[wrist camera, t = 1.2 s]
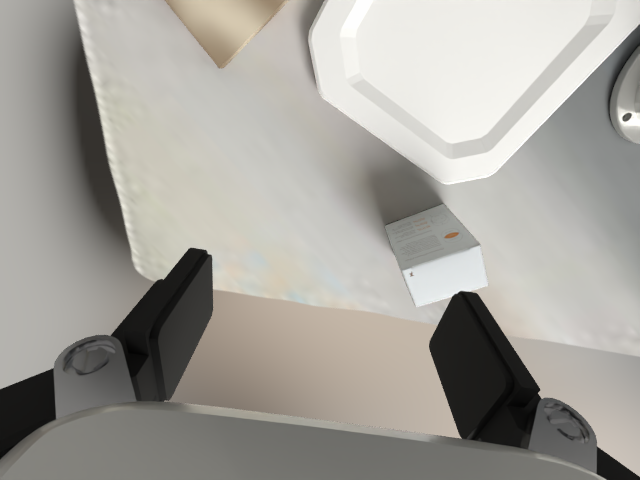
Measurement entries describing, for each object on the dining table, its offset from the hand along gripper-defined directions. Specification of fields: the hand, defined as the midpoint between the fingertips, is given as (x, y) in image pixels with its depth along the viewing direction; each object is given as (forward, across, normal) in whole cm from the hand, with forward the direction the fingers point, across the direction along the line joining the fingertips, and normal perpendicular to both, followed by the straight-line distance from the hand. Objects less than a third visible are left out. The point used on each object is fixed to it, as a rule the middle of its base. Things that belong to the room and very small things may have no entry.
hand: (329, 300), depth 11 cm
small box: (+27, -14, +9) cm, 31 cm away
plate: (+27, -11, -13) cm, 32 cm away
